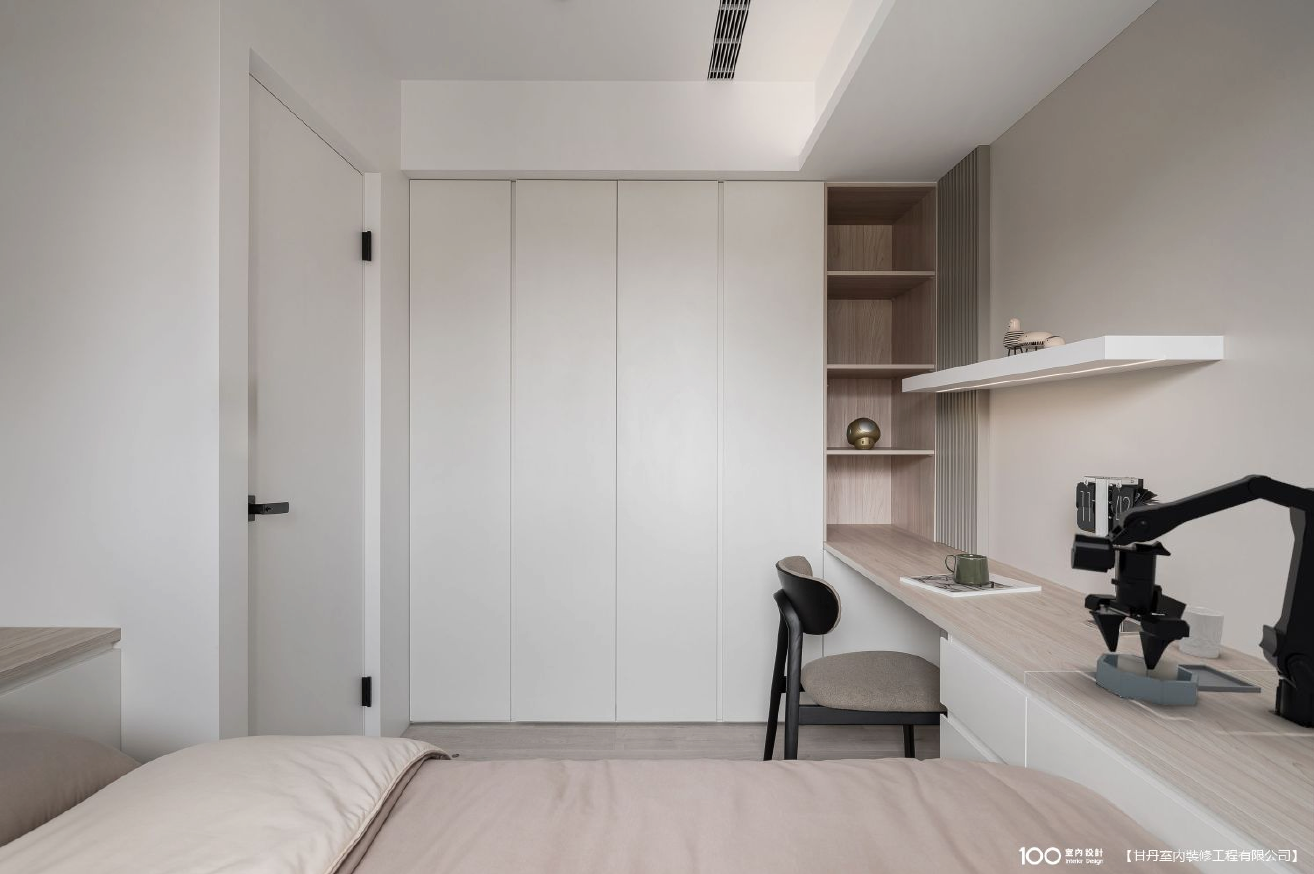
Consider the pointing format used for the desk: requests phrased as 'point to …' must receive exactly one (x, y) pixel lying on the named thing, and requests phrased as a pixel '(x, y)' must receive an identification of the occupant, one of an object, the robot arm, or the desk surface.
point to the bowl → (1146, 683)
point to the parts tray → (1219, 680)
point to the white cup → (1202, 632)
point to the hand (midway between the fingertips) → (1130, 660)
